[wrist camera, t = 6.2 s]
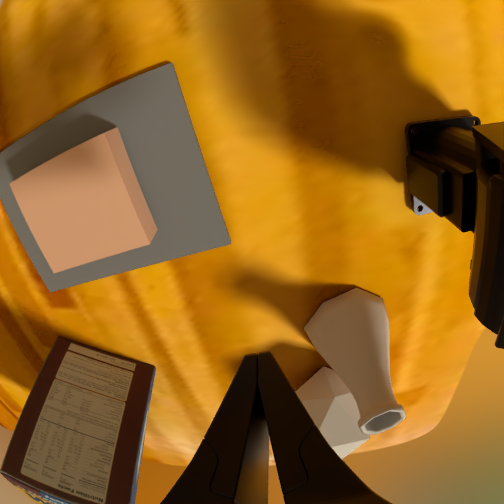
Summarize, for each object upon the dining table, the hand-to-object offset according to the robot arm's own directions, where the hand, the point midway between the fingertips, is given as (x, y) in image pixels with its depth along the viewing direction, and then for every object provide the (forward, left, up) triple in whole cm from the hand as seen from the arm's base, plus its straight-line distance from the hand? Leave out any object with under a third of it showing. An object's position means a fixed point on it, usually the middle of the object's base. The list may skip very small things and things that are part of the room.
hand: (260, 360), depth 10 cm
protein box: (+21, +16, -12) cm, 29 cm away
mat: (+10, -4, -12) cm, 16 cm away
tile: (+6, -4, -10) cm, 13 cm away
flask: (-5, +12, -12) cm, 18 cm away
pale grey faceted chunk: (-2, +20, -12) cm, 23 cm away
